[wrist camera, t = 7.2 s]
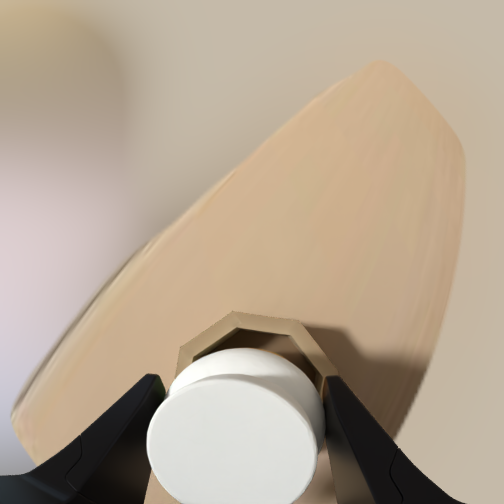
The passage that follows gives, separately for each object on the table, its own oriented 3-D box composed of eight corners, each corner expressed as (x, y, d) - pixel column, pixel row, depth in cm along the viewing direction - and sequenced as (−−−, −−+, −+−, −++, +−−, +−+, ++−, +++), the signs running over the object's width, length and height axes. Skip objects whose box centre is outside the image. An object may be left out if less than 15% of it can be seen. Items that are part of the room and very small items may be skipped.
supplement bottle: (206, 347, 15) (115, 338, 6) (303, 347, 15) (351, 340, 6) (207, 437, 13) (130, 520, 4) (304, 438, 13) (339, 535, 4)
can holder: (311, 453, 14) (317, 471, 11) (181, 431, 15) (165, 445, 12) (333, 329, 17) (345, 325, 14) (201, 310, 18) (188, 303, 15)
